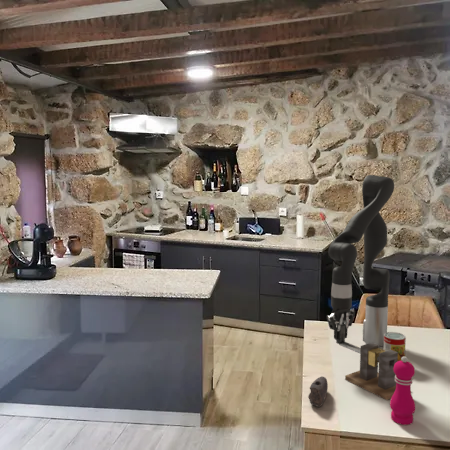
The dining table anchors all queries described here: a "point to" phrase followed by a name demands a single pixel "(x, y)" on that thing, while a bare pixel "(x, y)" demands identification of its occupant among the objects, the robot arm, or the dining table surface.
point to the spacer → (374, 356)
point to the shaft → (345, 344)
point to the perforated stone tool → (318, 391)
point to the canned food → (395, 343)
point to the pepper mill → (403, 393)
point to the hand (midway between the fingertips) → (340, 338)
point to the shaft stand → (376, 372)
